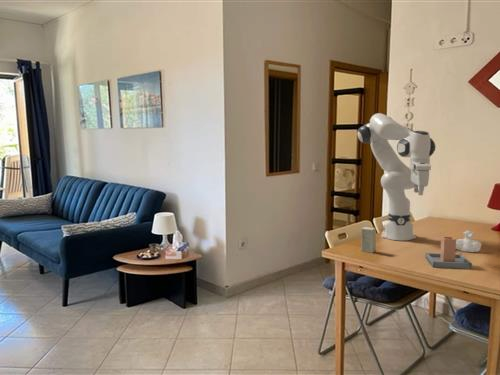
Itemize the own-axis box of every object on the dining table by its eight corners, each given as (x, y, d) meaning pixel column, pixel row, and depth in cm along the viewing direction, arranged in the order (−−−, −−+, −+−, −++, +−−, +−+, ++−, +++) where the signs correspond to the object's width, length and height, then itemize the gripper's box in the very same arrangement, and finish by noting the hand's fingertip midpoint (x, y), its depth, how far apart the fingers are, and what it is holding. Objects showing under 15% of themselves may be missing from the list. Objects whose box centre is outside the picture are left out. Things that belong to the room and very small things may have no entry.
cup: (440, 259, 189) (441, 236, 187) (451, 259, 188) (452, 236, 186) (443, 262, 184) (444, 239, 182) (454, 262, 183) (456, 239, 182)
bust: (480, 256, 203) (481, 236, 208) (481, 250, 197) (482, 229, 202) (454, 253, 209) (455, 233, 214) (453, 247, 203) (455, 227, 208)
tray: (425, 257, 194) (425, 252, 194) (460, 259, 191) (461, 254, 191) (432, 267, 181) (433, 261, 180) (471, 268, 178) (471, 263, 177)
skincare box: (375, 251, 206) (376, 228, 205) (371, 253, 203) (372, 229, 202) (364, 249, 211) (364, 226, 209) (360, 251, 207) (361, 228, 206)
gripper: (408, 163, 202) (407, 190, 204) (417, 166, 182) (415, 196, 184) (421, 163, 201) (420, 190, 203) (431, 166, 181) (430, 196, 183)
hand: (418, 193), depth 193 cm, fingers open, 8 cm apart
